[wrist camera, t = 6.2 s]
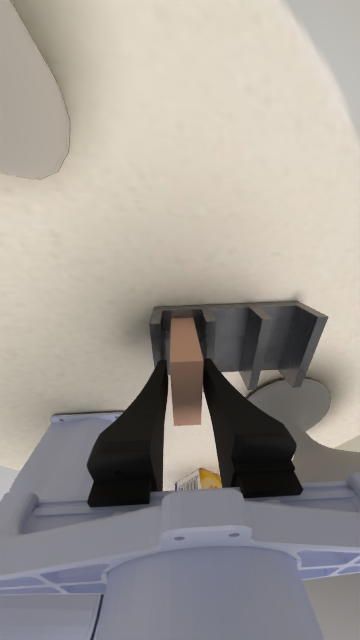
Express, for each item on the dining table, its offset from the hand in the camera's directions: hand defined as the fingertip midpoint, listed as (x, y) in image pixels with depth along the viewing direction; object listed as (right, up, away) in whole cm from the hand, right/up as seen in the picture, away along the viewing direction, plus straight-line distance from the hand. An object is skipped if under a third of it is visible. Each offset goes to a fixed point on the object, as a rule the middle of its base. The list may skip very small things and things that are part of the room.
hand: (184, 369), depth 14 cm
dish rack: (+4, +2, +4) cm, 6 cm away
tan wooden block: (0, +1, +3) cm, 3 cm away
